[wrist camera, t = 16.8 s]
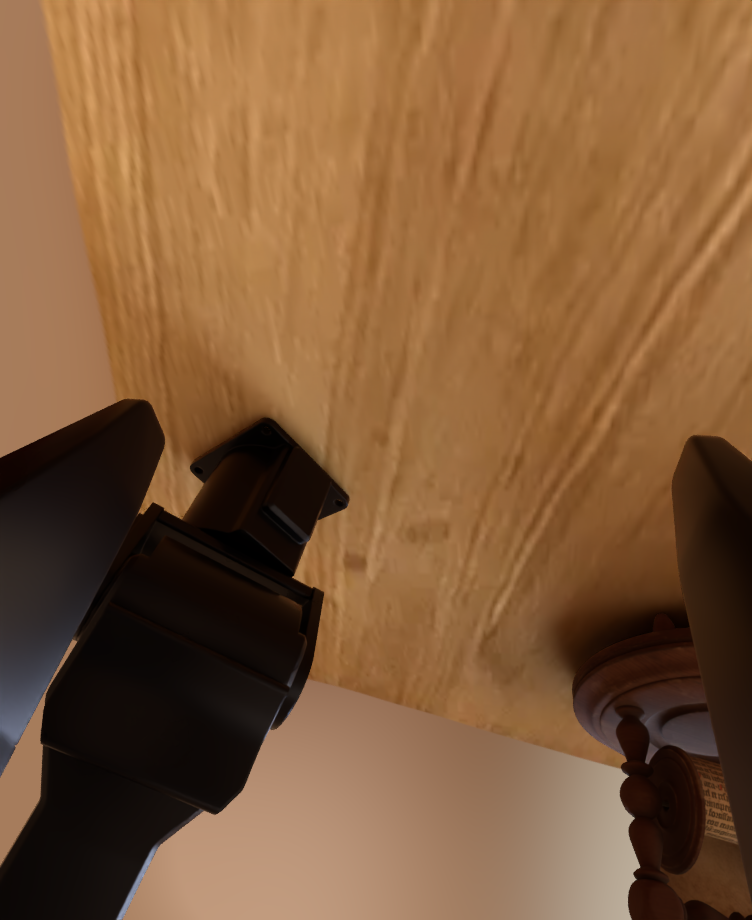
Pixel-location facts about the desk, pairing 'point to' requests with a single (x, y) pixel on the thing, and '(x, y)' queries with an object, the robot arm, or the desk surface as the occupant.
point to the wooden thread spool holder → (666, 775)
